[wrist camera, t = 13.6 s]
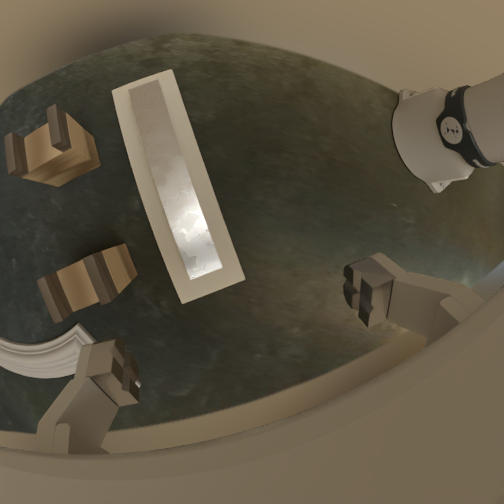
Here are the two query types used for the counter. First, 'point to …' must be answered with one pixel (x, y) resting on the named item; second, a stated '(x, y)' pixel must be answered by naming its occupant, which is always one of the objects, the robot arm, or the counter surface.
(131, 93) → the rail
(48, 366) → the molding
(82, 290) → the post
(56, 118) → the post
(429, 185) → the robot arm
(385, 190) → the counter surface
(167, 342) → the counter surface
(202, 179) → the plank
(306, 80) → the counter surface
